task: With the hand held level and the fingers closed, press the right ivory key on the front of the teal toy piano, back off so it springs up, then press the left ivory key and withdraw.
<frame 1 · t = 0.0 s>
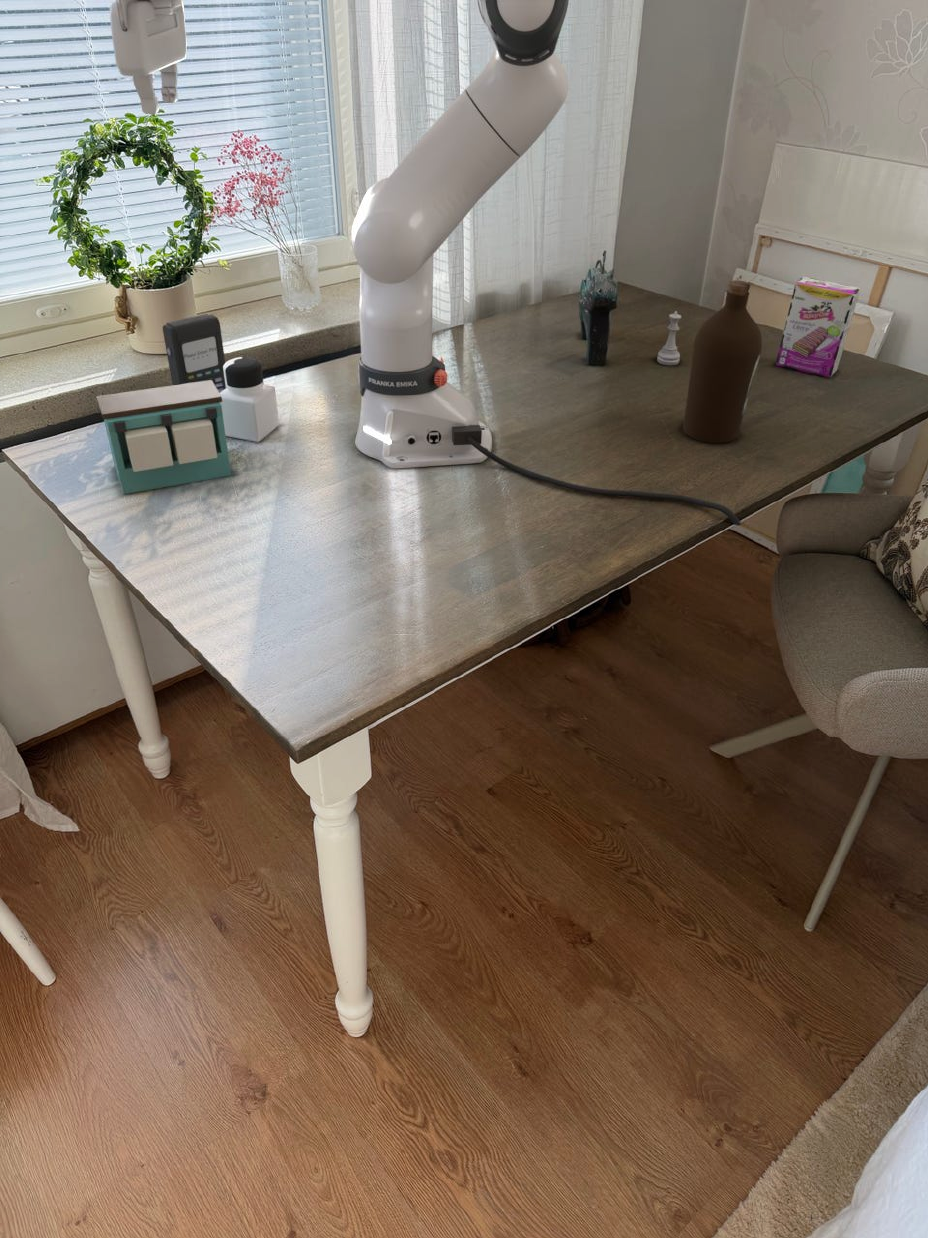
hand: (161, 107, 122), 48 cm above the table, tool pointing down, fingers open, 8 cm apart
olive oil: (710, 433, 157), on the table
piano key right: (193, 439, 135), point 7 cm above the table, slide at 0.0 cm
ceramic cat: (590, 351, 187), on the table
toy piano: (173, 471, 142), on the table
piano key left: (148, 446, 133), point 7 cm above the table, slide at 0.0 cm
medicine bottle: (250, 431, 154), on the table
chess piece: (667, 362, 183), on the table
candy bar box: (805, 369, 182), on the table
card reader: (203, 406, 162), on the table
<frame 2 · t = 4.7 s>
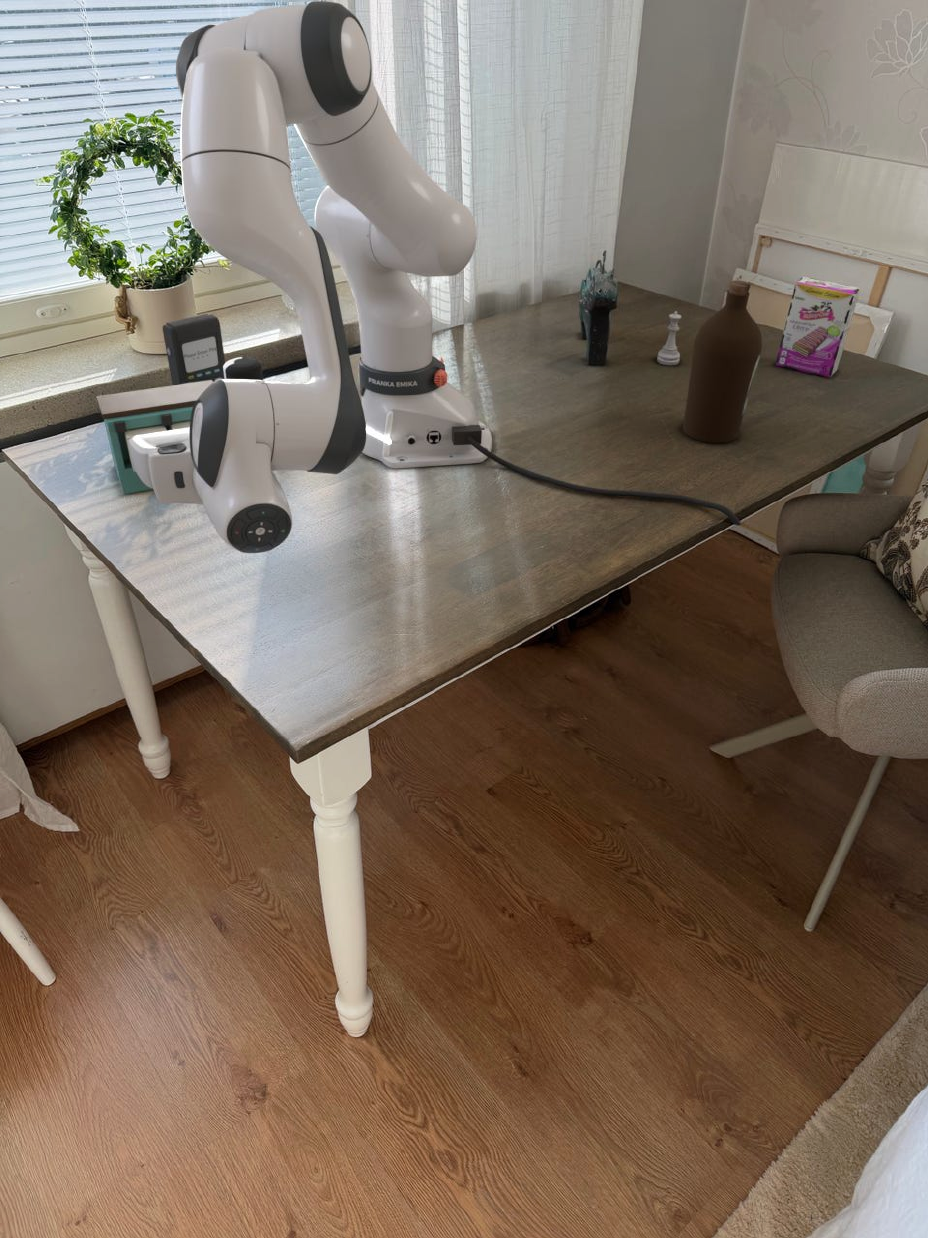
hand: (203, 421, 120), 16 cm above the table, tool horizontal, fingers closed
nothing on the table moved.
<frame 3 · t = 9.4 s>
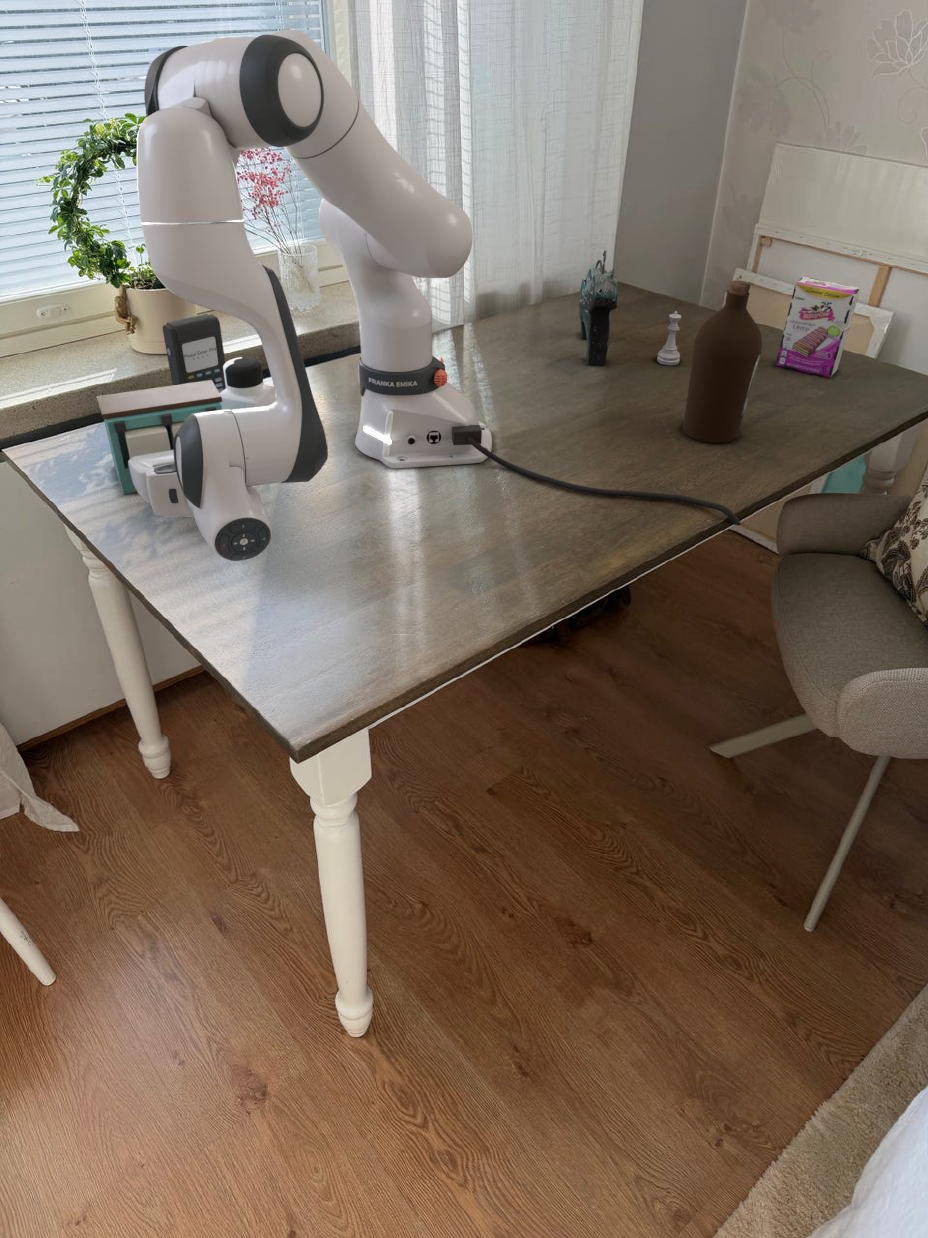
hand: (194, 441, 135), 7 cm above the table, tool horizontal, fingers closed, pressing on piano key right
piano key right: (191, 436, 136), point 7 cm above the table, slide at -1.0 cm, touching gripper
everything else where it was.
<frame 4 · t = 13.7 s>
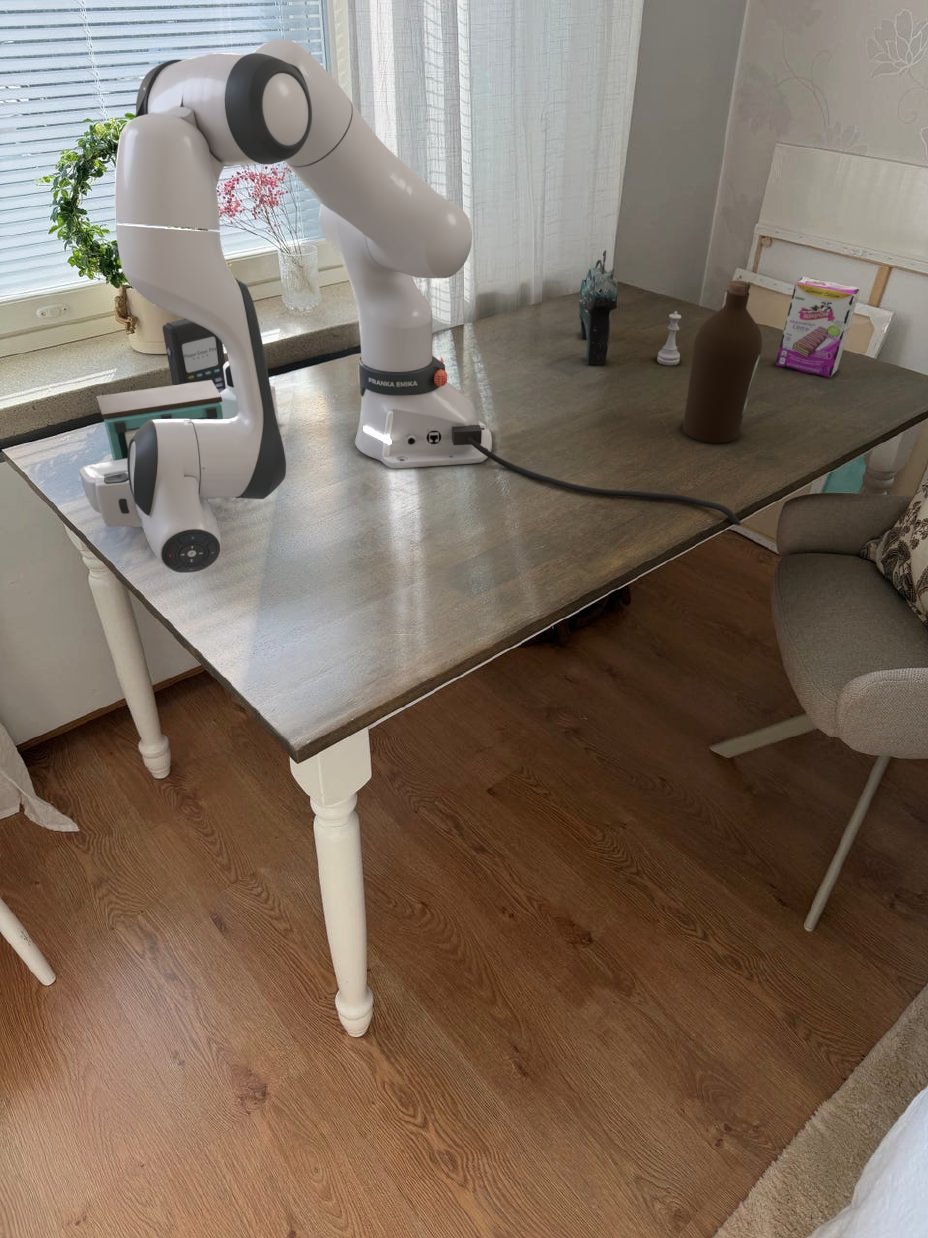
hand: (150, 450, 132), 7 cm above the table, tool horizontal, fingers closed, pressing on piano key left
piano key right: (193, 439, 135), point 7 cm above the table, slide at 0.0 cm
piano key left: (147, 444, 133), point 7 cm above the table, slide at -0.7 cm, touching gripper
everything else where it was.
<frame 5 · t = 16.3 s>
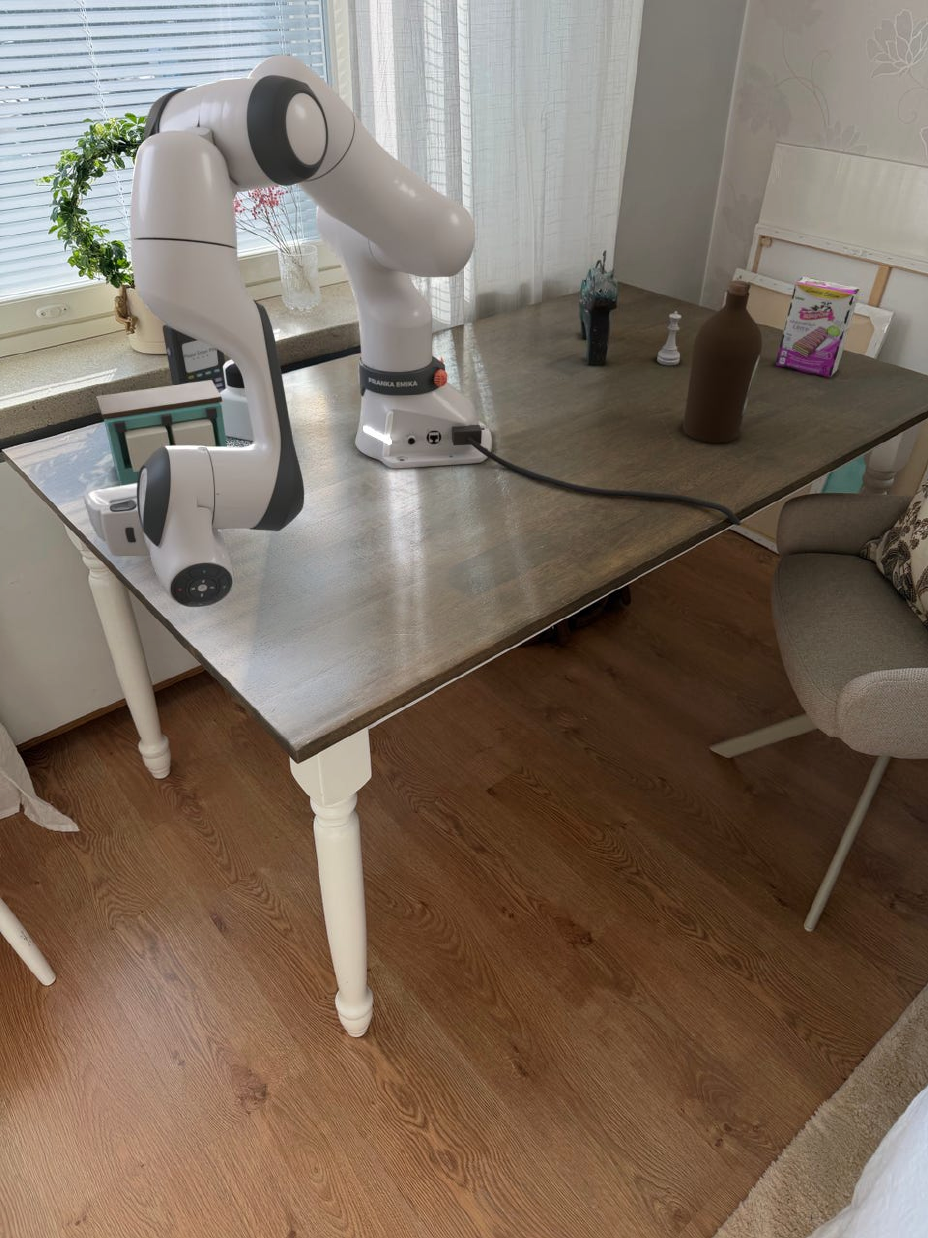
hand: (158, 473, 126), 7 cm above the table, tool horizontal, fingers closed
piano key left: (148, 446, 133), point 7 cm above the table, slide at 0.1 cm
everything else where it was.
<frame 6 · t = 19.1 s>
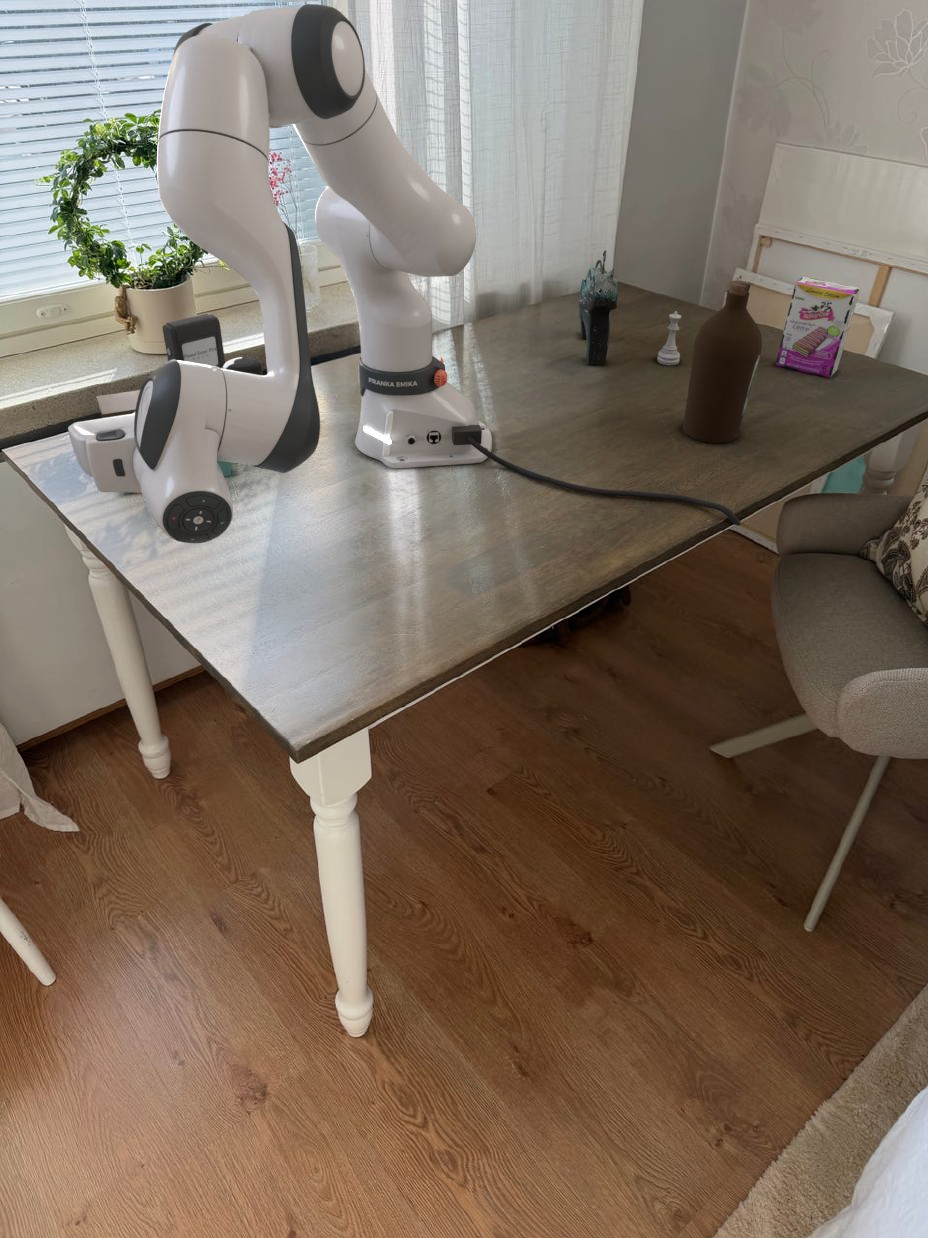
hand: (149, 407, 116), 19 cm above the table, tool horizontal, fingers closed
nothing on the table moved.
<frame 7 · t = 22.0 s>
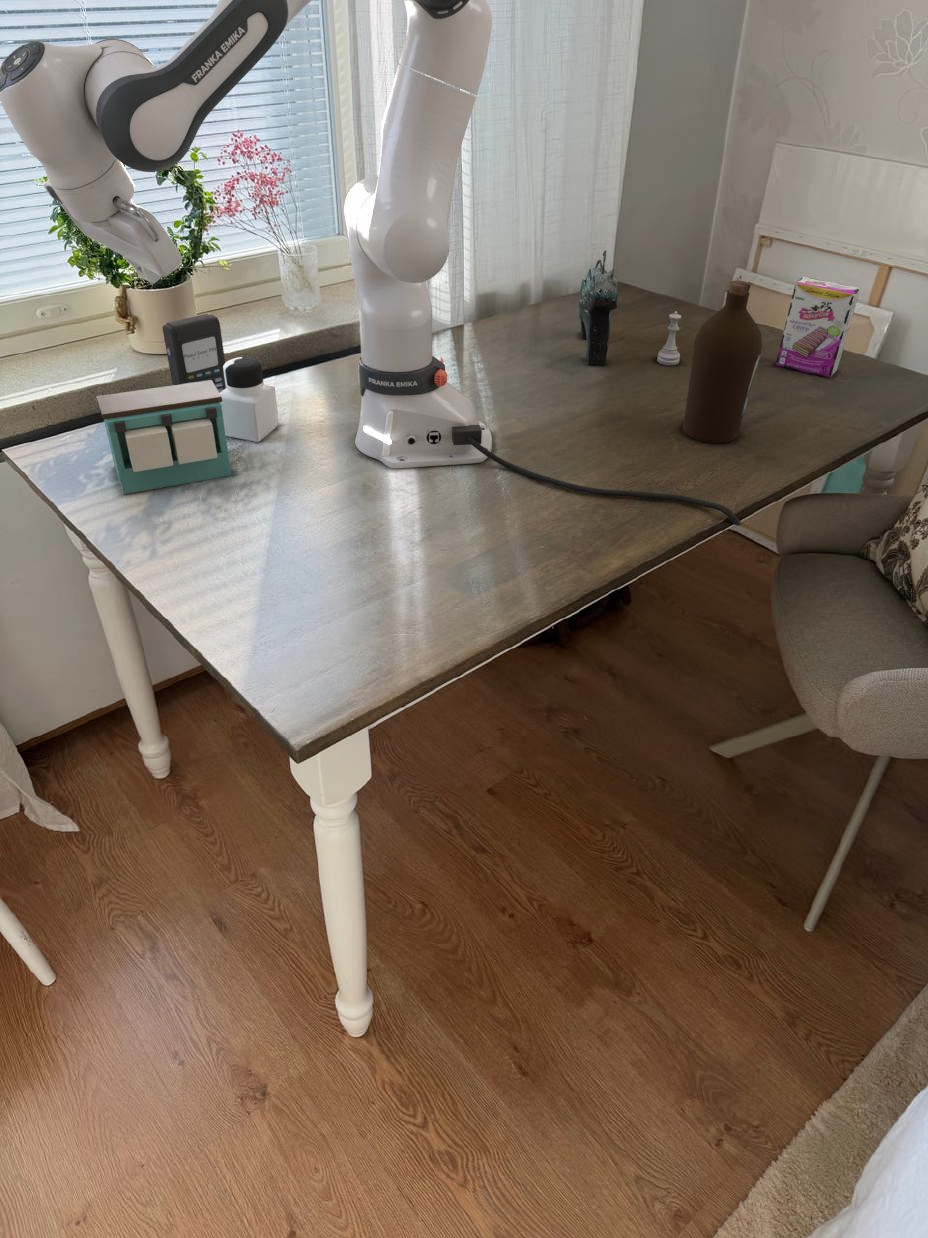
hand: (151, 277, 127), 28 cm above the table, tool tilted 25°, fingers closed
nothing on the table moved.
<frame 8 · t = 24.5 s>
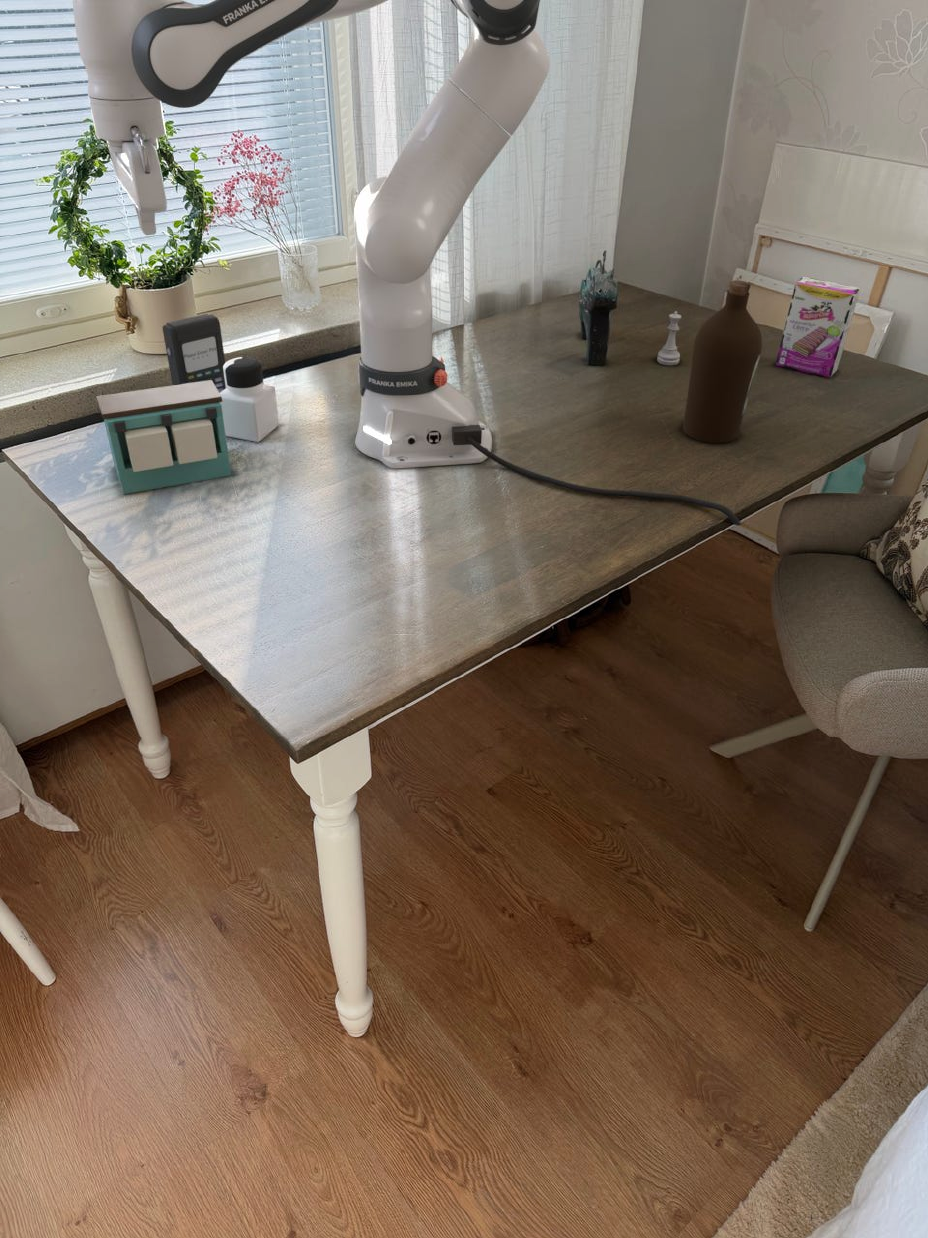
hand: (148, 232, 128), 33 cm above the table, tool pointing down, fingers closed
nothing on the table moved.
at the end: piano key right pushed in 1.3 cm at the most during the clip, back to where it started at the end; piano key left pushed in 1.3 cm at the most during the clip, back to where it started at the end; piano key left slide at 0.1 cm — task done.
